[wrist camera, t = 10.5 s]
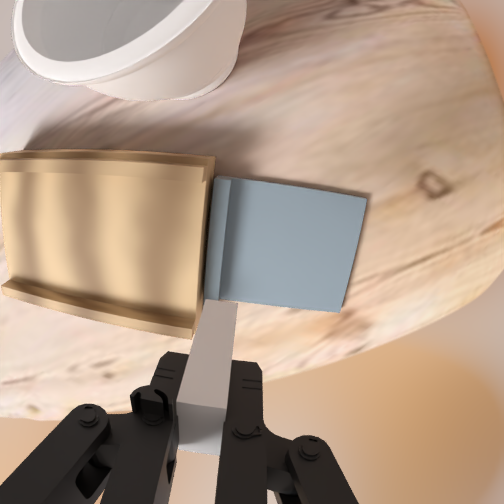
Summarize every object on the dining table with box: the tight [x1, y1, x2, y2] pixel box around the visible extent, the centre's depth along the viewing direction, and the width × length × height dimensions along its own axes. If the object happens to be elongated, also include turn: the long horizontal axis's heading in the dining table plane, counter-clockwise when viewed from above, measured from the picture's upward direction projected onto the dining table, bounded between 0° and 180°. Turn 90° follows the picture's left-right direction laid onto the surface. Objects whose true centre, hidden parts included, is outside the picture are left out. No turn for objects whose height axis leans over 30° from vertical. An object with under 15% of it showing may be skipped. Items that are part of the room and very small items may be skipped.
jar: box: [11, 0, 247, 101], centre depth 14 cm, size 11×10×15 cm
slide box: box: [0, 149, 216, 340], centre depth 24 cm, size 20×14×5 cm
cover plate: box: [203, 175, 367, 313], centre depth 26 cm, size 12×10×3 cm
